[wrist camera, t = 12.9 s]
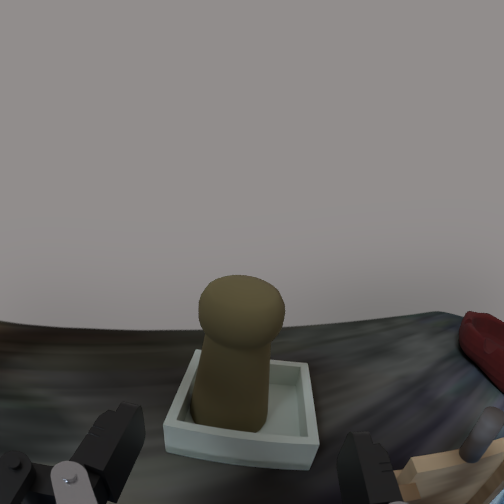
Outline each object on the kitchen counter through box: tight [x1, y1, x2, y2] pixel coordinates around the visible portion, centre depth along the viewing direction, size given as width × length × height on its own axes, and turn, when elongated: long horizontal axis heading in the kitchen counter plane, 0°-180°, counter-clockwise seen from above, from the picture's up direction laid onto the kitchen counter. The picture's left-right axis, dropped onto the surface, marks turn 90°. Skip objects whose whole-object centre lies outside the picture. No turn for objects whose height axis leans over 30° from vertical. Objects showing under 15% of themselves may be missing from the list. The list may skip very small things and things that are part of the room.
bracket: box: [393, 407, 504, 504], centre depth 13 cm, size 10×5×9 cm, turn 86°
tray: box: [163, 349, 320, 470], centre depth 22 cm, size 10×10×3 cm
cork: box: [190, 275, 285, 433], centre depth 20 cm, size 6×6×11 cm
